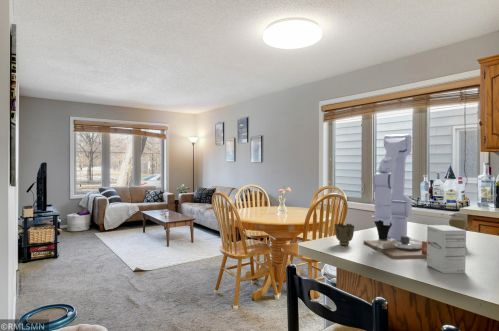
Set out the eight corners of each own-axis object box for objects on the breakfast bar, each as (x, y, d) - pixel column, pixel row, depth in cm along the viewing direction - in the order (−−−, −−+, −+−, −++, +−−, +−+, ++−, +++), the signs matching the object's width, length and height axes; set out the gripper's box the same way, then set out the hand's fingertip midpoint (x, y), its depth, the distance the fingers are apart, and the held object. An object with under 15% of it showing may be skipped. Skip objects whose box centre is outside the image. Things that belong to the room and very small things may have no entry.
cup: (355, 243, 121) (355, 223, 121) (353, 248, 114) (353, 227, 114) (335, 241, 124) (336, 222, 124) (332, 246, 117) (332, 225, 117)
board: (363, 243, 122) (363, 230, 122) (414, 241, 125) (414, 229, 125) (393, 258, 102) (393, 243, 102) (453, 256, 105) (453, 242, 105)
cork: (469, 249, 113) (470, 219, 113) (451, 248, 115) (451, 219, 115) (461, 245, 119) (462, 217, 119) (444, 244, 121) (445, 216, 120)
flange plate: (405, 241, 120) (405, 234, 120) (429, 248, 110) (429, 240, 110) (370, 244, 115) (370, 236, 115) (391, 252, 105) (391, 244, 105)
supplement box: (425, 265, 96) (426, 225, 96) (448, 264, 96) (448, 224, 96) (442, 273, 88) (443, 230, 88) (466, 273, 89) (467, 229, 89)
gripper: (368, 201, 123) (368, 235, 123) (374, 206, 108) (374, 245, 109) (387, 202, 121) (387, 236, 121) (396, 207, 107) (396, 246, 107)
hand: (382, 240), depth 115 cm, fingers closed
